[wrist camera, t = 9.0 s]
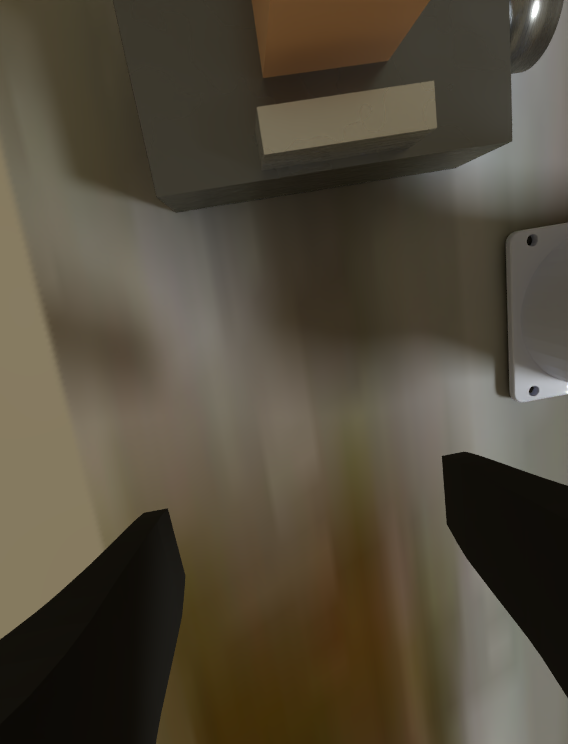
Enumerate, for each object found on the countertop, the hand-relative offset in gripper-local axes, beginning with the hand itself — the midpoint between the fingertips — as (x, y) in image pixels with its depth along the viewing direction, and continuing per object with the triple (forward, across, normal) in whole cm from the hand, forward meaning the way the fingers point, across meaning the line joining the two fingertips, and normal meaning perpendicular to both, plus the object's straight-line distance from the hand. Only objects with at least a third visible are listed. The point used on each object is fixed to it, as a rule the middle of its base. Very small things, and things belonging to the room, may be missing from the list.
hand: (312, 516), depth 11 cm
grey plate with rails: (+9, -4, -14) cm, 17 cm away
